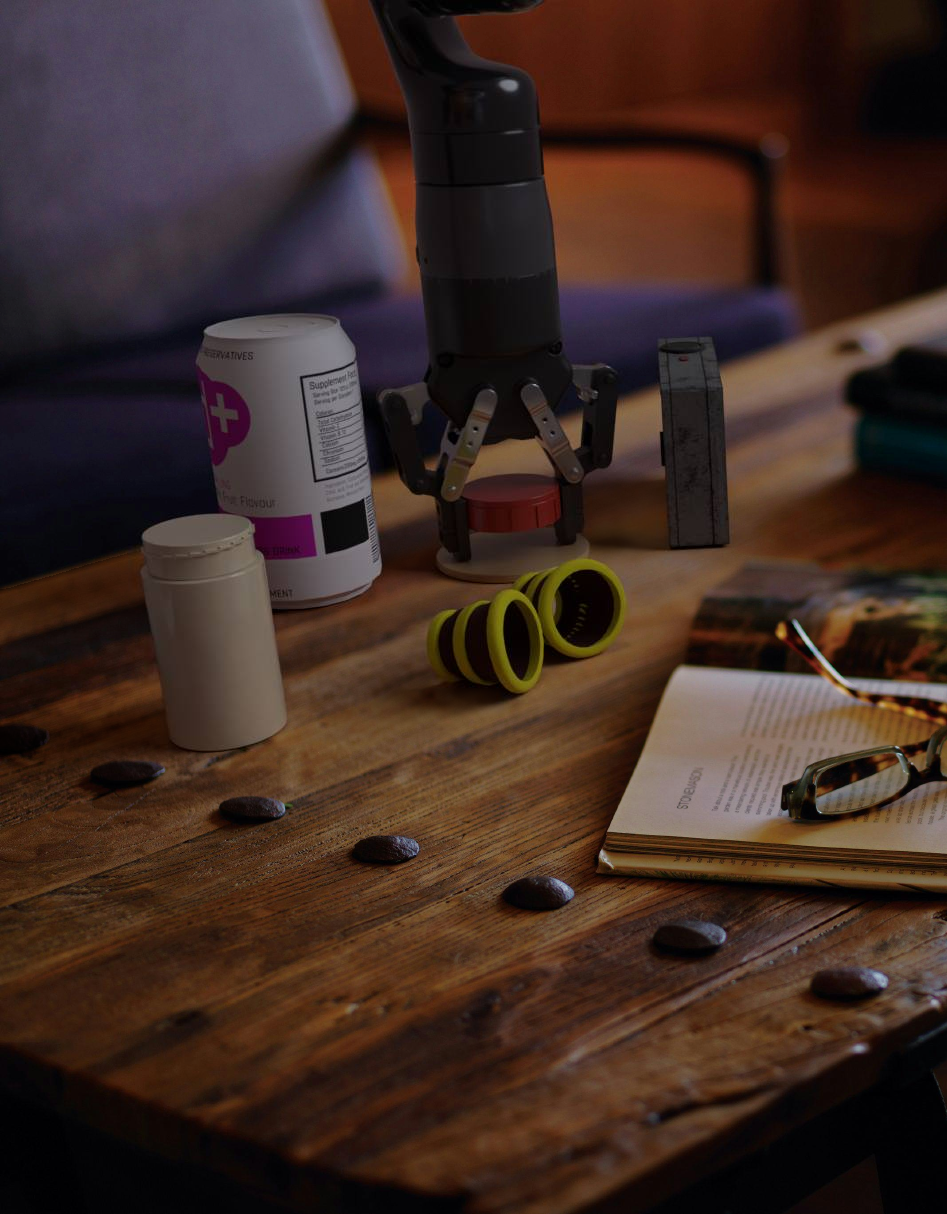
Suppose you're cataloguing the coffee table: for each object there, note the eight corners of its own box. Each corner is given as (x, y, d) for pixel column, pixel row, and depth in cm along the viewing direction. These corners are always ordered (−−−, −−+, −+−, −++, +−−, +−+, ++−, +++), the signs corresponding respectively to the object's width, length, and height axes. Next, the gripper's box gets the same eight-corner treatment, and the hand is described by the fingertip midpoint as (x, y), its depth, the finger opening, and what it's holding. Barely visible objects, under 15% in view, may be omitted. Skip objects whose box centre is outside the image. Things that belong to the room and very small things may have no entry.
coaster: (428, 587, 92) (427, 578, 92) (445, 537, 101) (445, 530, 101) (587, 578, 93) (587, 570, 93) (592, 530, 101) (591, 522, 101)
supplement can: (252, 624, 87) (209, 347, 82) (221, 580, 94) (179, 322, 89) (400, 595, 91) (368, 328, 86) (360, 555, 98) (328, 306, 93)
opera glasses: (561, 640, 86) (539, 550, 85) (638, 639, 83) (616, 546, 82) (431, 706, 79) (406, 608, 77) (511, 708, 76) (485, 606, 75)
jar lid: (550, 533, 93) (547, 501, 92) (450, 533, 94) (446, 502, 93) (569, 502, 99) (567, 472, 98) (474, 503, 99) (471, 473, 98)
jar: (167, 759, 72) (131, 554, 69) (170, 713, 77) (136, 519, 73) (290, 740, 74) (260, 539, 70) (285, 697, 78) (257, 506, 75)
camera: (662, 475, 113) (654, 331, 109) (719, 472, 113) (712, 329, 110) (666, 550, 97) (656, 386, 94) (732, 546, 98) (725, 383, 94)
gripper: (371, 284, 85) (408, 588, 91) (632, 259, 90) (650, 547, 96) (344, 265, 91) (380, 550, 97) (590, 243, 97) (609, 513, 103)
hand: (514, 547), depth 97 cm, fingers closed on jar lid, 5 cm apart
